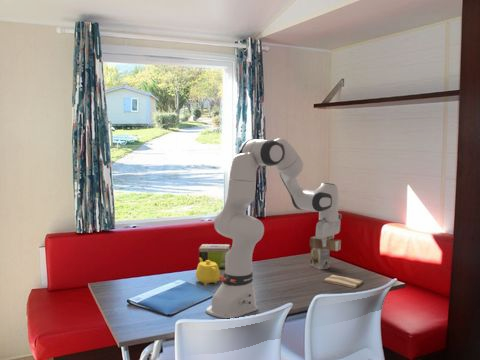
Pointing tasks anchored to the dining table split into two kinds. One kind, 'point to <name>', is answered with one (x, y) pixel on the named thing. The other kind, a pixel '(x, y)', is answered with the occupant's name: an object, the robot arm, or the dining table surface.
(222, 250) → the tea box
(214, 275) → the teapot
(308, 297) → the dining table surface
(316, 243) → the walnut post
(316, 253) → the coffee box
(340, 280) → the beige flat slab
